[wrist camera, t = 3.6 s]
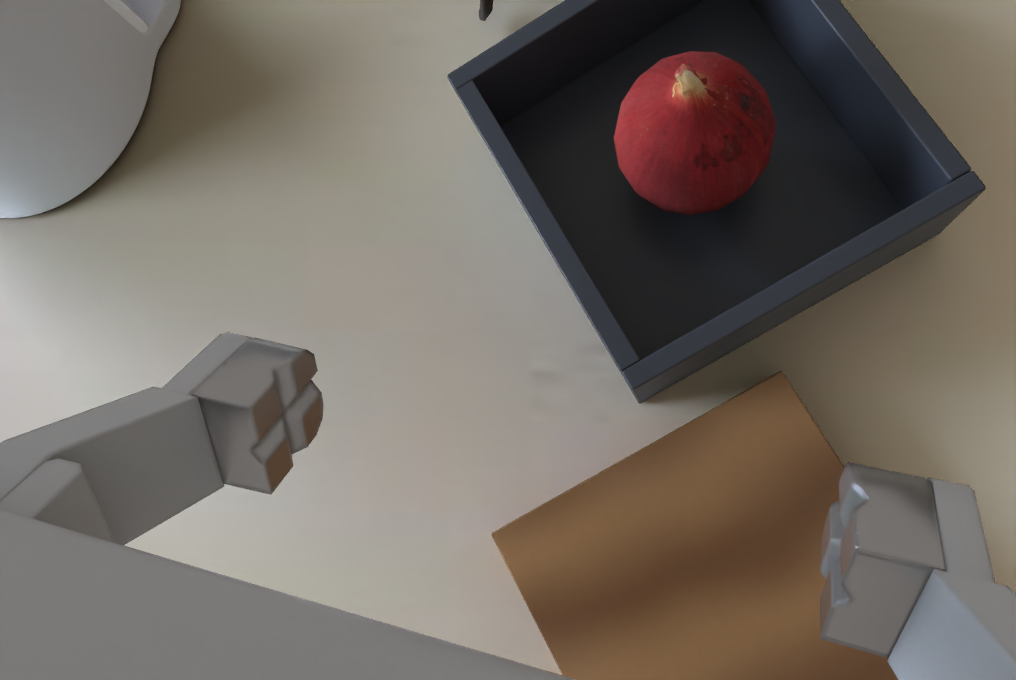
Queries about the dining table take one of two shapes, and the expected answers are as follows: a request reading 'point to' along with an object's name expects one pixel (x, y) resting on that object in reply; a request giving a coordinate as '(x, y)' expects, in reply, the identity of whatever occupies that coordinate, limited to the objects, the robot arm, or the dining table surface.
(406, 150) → the dining table surface
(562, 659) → the cutting board
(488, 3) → the lion figurine
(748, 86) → the red pomegranate
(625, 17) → the tub
